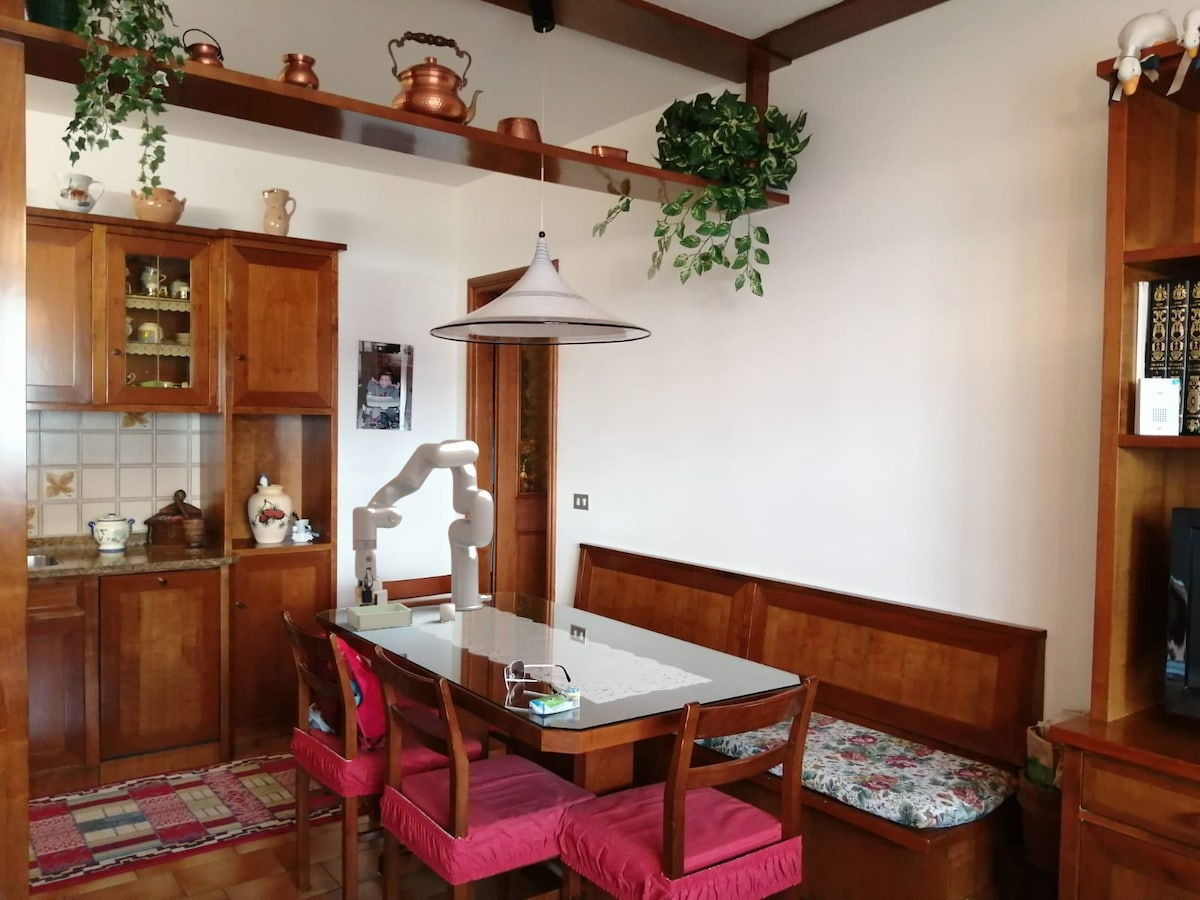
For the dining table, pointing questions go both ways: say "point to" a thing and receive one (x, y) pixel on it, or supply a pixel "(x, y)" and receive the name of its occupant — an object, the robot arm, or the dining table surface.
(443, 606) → the white short cylinder
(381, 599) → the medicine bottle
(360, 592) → the beech cube
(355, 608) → the tote
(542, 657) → the dining table surface
